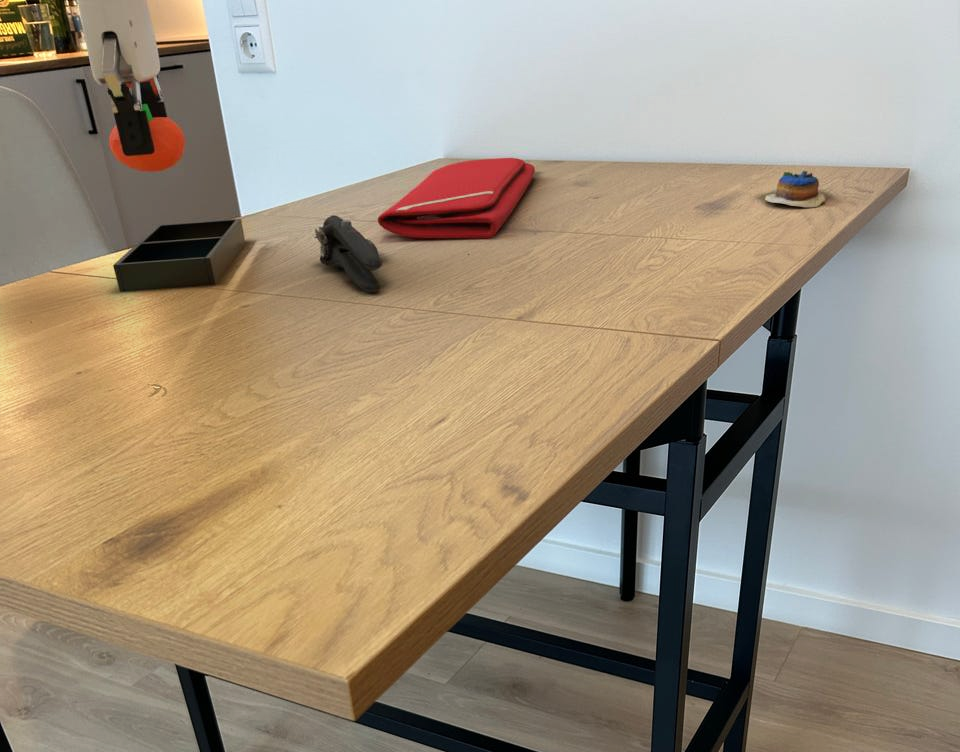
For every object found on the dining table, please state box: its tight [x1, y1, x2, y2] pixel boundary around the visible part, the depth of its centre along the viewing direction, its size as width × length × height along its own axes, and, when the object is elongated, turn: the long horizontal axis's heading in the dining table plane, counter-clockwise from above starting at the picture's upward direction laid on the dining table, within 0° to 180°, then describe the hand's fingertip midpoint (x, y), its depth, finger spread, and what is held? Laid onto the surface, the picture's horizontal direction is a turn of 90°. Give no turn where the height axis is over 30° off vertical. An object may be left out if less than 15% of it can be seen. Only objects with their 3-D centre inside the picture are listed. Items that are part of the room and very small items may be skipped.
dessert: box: [764, 170, 826, 208], centre depth 129 cm, size 8×7×6 cm
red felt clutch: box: [377, 157, 536, 239], centre depth 140 cm, size 16×41×4 cm, turn 171°
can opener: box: [314, 214, 383, 293], centre depth 111 cm, size 18×7×6 cm, turn 18°
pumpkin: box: [109, 104, 186, 173], centre depth 107 cm, size 7×8×6 cm
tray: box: [112, 218, 246, 293], centre depth 119 cm, size 11×21×4 cm, turn 2°
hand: (148, 147), depth 108 cm, fingers closed on pumpkin, 7 cm apart
